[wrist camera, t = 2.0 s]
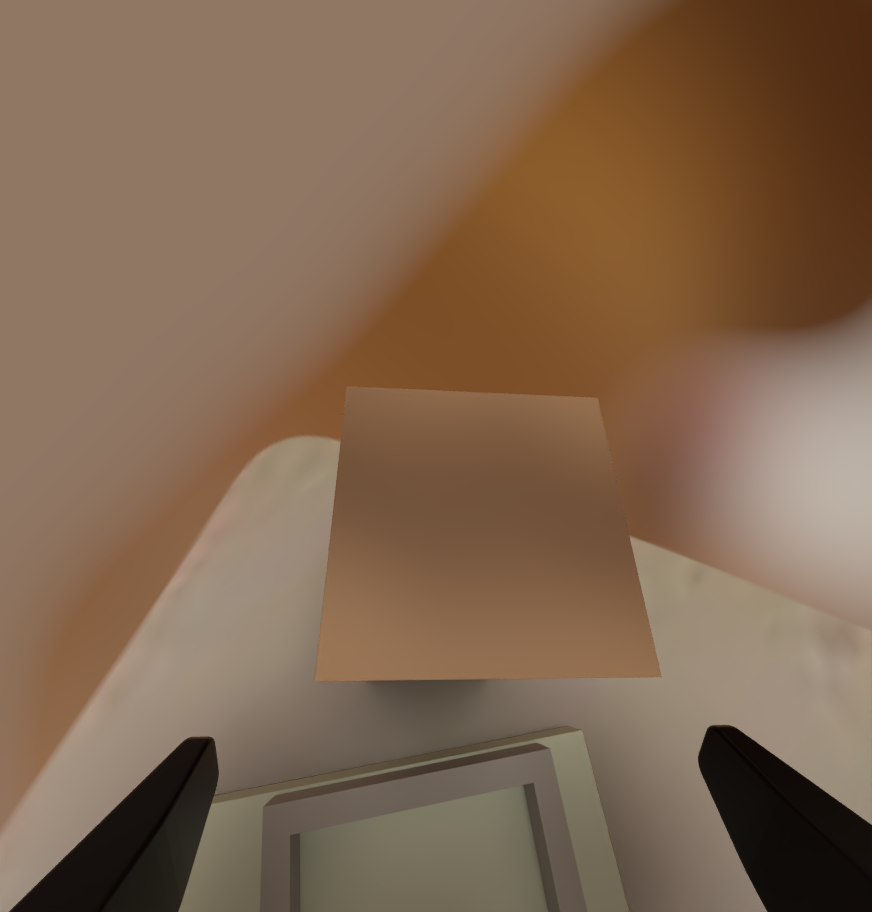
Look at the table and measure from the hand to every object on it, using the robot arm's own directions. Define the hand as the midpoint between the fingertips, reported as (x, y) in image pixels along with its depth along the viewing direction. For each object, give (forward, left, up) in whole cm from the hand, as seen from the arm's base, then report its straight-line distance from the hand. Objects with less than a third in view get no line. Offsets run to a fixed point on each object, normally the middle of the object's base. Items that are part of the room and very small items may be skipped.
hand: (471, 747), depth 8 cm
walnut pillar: (+4, -1, -11) cm, 11 cm away
